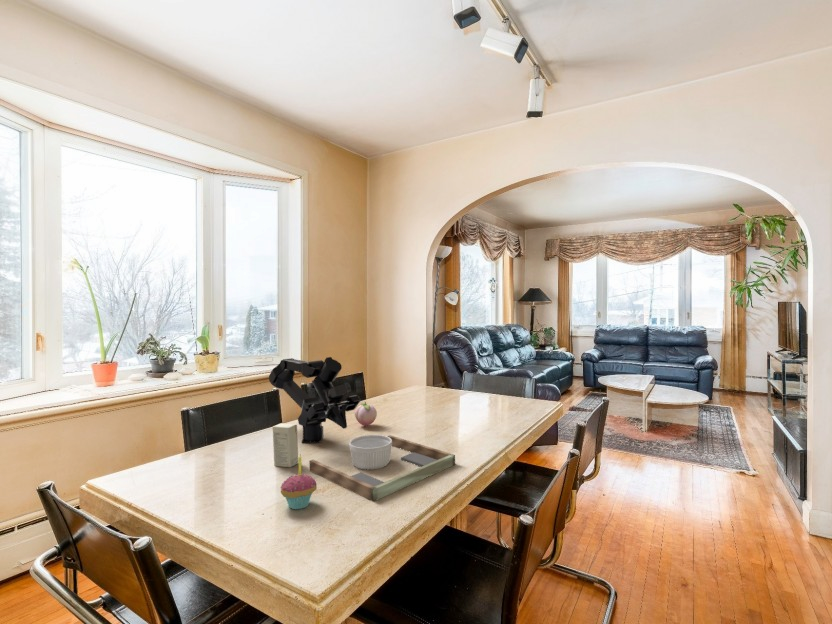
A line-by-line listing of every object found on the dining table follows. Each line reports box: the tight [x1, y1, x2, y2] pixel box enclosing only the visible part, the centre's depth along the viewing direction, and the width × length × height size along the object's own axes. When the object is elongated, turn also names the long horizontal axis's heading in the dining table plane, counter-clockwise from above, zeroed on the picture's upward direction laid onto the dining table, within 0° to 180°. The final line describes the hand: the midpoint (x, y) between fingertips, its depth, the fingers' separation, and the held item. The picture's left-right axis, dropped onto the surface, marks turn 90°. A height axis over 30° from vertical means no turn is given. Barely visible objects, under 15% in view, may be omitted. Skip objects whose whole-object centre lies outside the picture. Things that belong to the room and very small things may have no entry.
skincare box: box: [272, 422, 299, 468], centre depth 131 cm, size 6×4×12 cm
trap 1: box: [350, 471, 385, 486], centre depth 116 cm, size 10×6×1 cm, turn 46°
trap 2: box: [400, 452, 436, 468], centre depth 132 cm, size 10×6×1 cm, turn 46°
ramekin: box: [348, 434, 393, 471], centre depth 131 cm, size 13×13×7 cm
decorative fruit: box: [354, 401, 378, 428], centre depth 170 cm, size 9×8×10 cm
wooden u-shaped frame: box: [309, 434, 456, 502], centre depth 127 cm, size 29×32×3 cm
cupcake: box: [280, 453, 318, 510], centre depth 104 cm, size 9×8×12 cm
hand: (345, 427), depth 140 cm, fingers closed
